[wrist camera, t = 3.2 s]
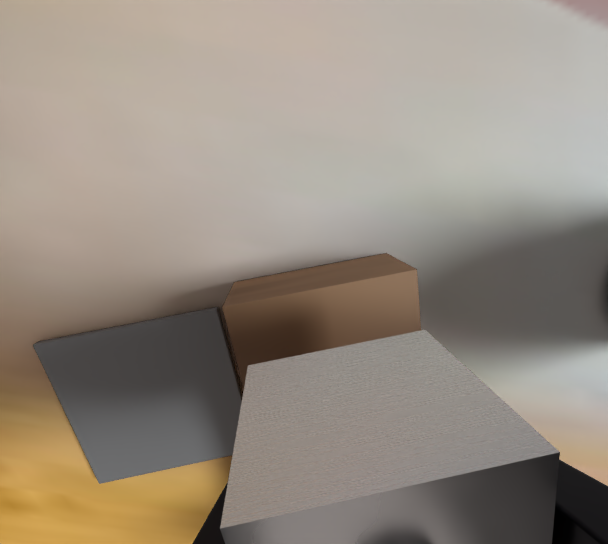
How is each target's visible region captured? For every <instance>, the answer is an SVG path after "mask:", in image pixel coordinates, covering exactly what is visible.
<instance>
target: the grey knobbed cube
mask: <svg viewBox="0 0 608 544" xmlns="http://www.w3.org/2000/svg"><path fill="white" fill-rule="evenodd" d="M559 455H560V452H559V451H558V450H557V449H556V448H555V447H553V446H552V445H551V444H550V443H549V442H548V441H547V440H546V439H545V438H544V437H543V436H541V435H540V434H539V433H538V432H537V431H536V430H535V429H534V428H533V427H532V426H530V425H529V424H528V423H527V422H526V421H525V420H524V419H523V418H522V417H521V416H519V415H518V414H517V413H516V412H515V411H514V410H513V409H512V408H511V407H510V406H508V405H507V404H506V403H505V402H504V401H503V400H502V399H501V398H500V397H499V396H498V395H496V394H495V393H494V392H493V391H492V390H491V389H490V388H489V387H488V386H487V385H485V384H484V383H483V382H482V381H481V380H480V379H479V378H478V377H477V376H476V375H474V374H473V373H472V372H471V371H470V370H469V369H468V368H467V367H466V366H465V365H463V364H462V363H461V362H460V361H459V360H458V359H457V358H456V357H455V356H454V355H452V354H451V353H450V352H449V351H448V350H447V349H446V348H445V347H444V346H443V345H442V344H440V343H439V342H438V341H437V340H436V339H435V338H434V337H433V336H432V335H431V334H429V333H428V332H427V331H426V330H421V331H416V332H411V333H406V334H401V335H396V336H391V337H386V338H381V339H376V340H371V341H366V342H362V343H357V344H352V345H347V346H342V347H337V348H332V349H327V350H322V351H317V352H312V353H307V354H302V355H297V356H292V357H287V358H282V359H278V360H273V361H268V362H263V363H258V364H253V365H248V368H247V374H246V380H245V386H244V391H243V397H242V403H241V409H240V415H239V421H238V426H237V432H236V438H235V444H234V450H233V456H232V461H231V467H230V473H229V479H228V485H227V491H226V496H225V502H224V508H223V514H222V520H221V526H220V530H221V533H222V536H223V539H224V542H225V544H552V536H553V525H554V513H555V502H556V490H557V478H558V467H559Z"/></svg>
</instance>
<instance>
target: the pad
mask: <svg viewBox="0 0 608 544" xmlns="http://www.w3.org/2000/svg"><path fill="white" fill-rule="evenodd" d="M33 347H34V349H35V351H36V353H37V355H38V357H39V359H40V361H41V363H42V365H43V368H44V370H45V372H46V374H47V376H48V378H49V380H50V382H51V384H52V386H53V388H54V390H55V393H56V395H57V397H58V399H59V401H60V403H61V405H62V407H63V409H64V411H65V413H66V416H67V418H68V420H69V422H70V424H71V426H72V428H73V430H74V432H75V434H76V436H77V438H78V441H79V443H80V445H81V447H82V449H83V451H84V453H85V455H86V457H87V459H88V461H89V464H90V466H91V468H92V470H93V472H94V474H95V476H96V478H97V480H98V482H99V484H100V483H105V482H110V481H114V480H119V479H124V478H128V477H133V476H138V475H142V474H147V473H152V472H156V471H161V470H166V469H170V468H175V467H180V466H184V465H189V464H193V463H198V462H203V461H207V460H212V459H217V458H221V457H226V456H231V455H233V450H234V444H235V438H236V432H237V426H238V421H239V415H240V409H241V403H242V394H241V391H240V387H239V383H238V380H237V376H236V372H235V369H234V365H233V361H232V358H231V354H230V350H229V347H228V343H227V339H226V336H225V332H224V328H223V325H222V321H221V317H220V314H219V310H218V307H215V308H209V309H204V310H199V311H194V312H189V313H184V314H178V315H173V316H168V317H163V318H158V319H152V320H147V321H142V322H137V323H132V324H127V325H121V326H116V327H111V328H106V329H101V330H96V331H90V332H85V333H80V334H75V335H70V336H65V337H59V338H54V339H49V340H44V341H39V342H37V343H35V344H33Z"/></svg>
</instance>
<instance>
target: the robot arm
mask: <svg viewBox="0 0 608 544" xmlns="http://www.w3.org/2000/svg"><path fill="white" fill-rule="evenodd" d="M227 485H228V483H227V484H226V486H225V488H224V490H223V491H222V493H221V495H220V497H219V498H218V500H217V502H216V504H215V505H214V507H213V509H212V511H211V512H210V514H209V516H208V518H207V519H206V521H205V523H204V525H203V526H202V528H201V530H200V532H199V533H198V535H197V537H196V538H195V540H194V542H193V544H225V542H224V539H223V536H222V533H221V530H220V526H221V520H222V514H223V508H224V502H225V496H226V491H227ZM552 544H608V486H606V485H605V484H603V483H601V482H599V481H597V480H595V479H594V478H592V477H590V476H588V475H586V474H585V473H583V472H581V471H579V470H577V469H575V468H574V467H572V466H570V465H568V464H566V463H564V462H563V461H561V460H559V467H558V478H557V490H556V502H555V513H554V525H553V536H552Z"/></svg>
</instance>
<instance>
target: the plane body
mask: <svg viewBox="0 0 608 544" xmlns="http://www.w3.org/2000/svg"><path fill="white" fill-rule="evenodd" d="M222 309H223V313H224V316H225V320H226V324H227V327H228V331H229V335H230V339H231V342H232V346H233V350H234V354H235V357H236V361H237V365H238V368H239V372H240V376H241V380H242V383H243V387H244V386H245V380H246V374H247V368H248V365H253V364H258V363H263V362H268V361H273V360H278V359H282V358H287V357H292V356H297V355H302V354H307V353H312V352H317V351H322V350H327V349H332V348H337V347H342V346H347V345H352V344H357V343H362V342H366V341H371V340H376V339H381V338H386V337H391V336H396V335H401V334H406V333H411V332H416V331H421V322H420V307H419V292H418V278H417V269H415V268H413V267H411V266H409V265H408V264H406V263H404V262H402V261H400V260H398V259H396V258H394V257H393V256H391V255H389V254H387V253H385V254H379V255H374V256H369V257H364V258H358V259H353V260H348V261H343V262H337V263H332V264H327V265H322V266H316V267H311V268H306V269H301V270H295V271H290V272H285V273H280V274H274V275H269V276H264V277H258V278H253V279H248V280H243V281H237V282H234V284H233V286H232V288H231V290H230V292H229V294H228V296H227V298H226V300H225V302H224V304H223V306H222Z"/></svg>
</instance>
